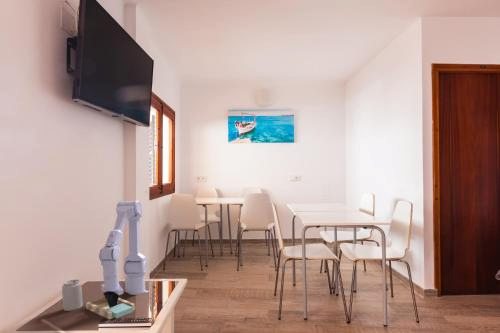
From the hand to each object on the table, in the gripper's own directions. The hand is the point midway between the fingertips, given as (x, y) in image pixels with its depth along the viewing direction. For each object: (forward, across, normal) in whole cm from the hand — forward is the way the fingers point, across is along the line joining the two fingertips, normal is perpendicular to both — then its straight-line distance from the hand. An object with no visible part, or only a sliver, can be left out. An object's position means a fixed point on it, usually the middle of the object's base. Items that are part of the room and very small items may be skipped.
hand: (113, 308), depth 146 cm
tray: (+1, -3, 0) cm, 3 cm away
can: (+2, -20, -8) cm, 21 cm away
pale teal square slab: (+1, +5, 0) cm, 5 cm away
